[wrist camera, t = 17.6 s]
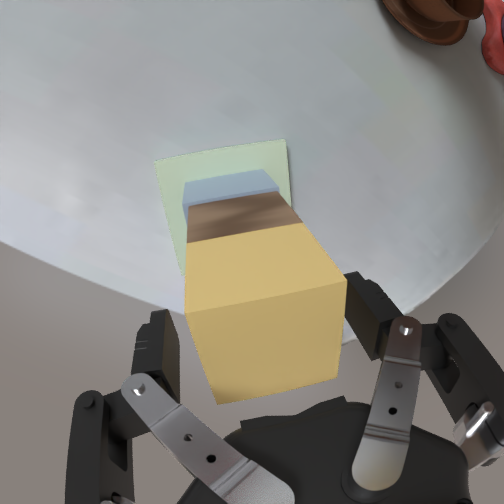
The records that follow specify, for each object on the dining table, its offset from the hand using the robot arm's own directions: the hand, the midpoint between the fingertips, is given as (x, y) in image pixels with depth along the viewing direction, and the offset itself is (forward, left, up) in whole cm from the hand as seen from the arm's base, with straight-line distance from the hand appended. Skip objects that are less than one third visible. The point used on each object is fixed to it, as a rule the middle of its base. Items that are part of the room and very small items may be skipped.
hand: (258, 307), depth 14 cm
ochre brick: (0, 0, -2) cm, 2 cm away
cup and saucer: (-20, -20, -13) cm, 31 cm away
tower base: (0, 0, -13) cm, 13 cm away
